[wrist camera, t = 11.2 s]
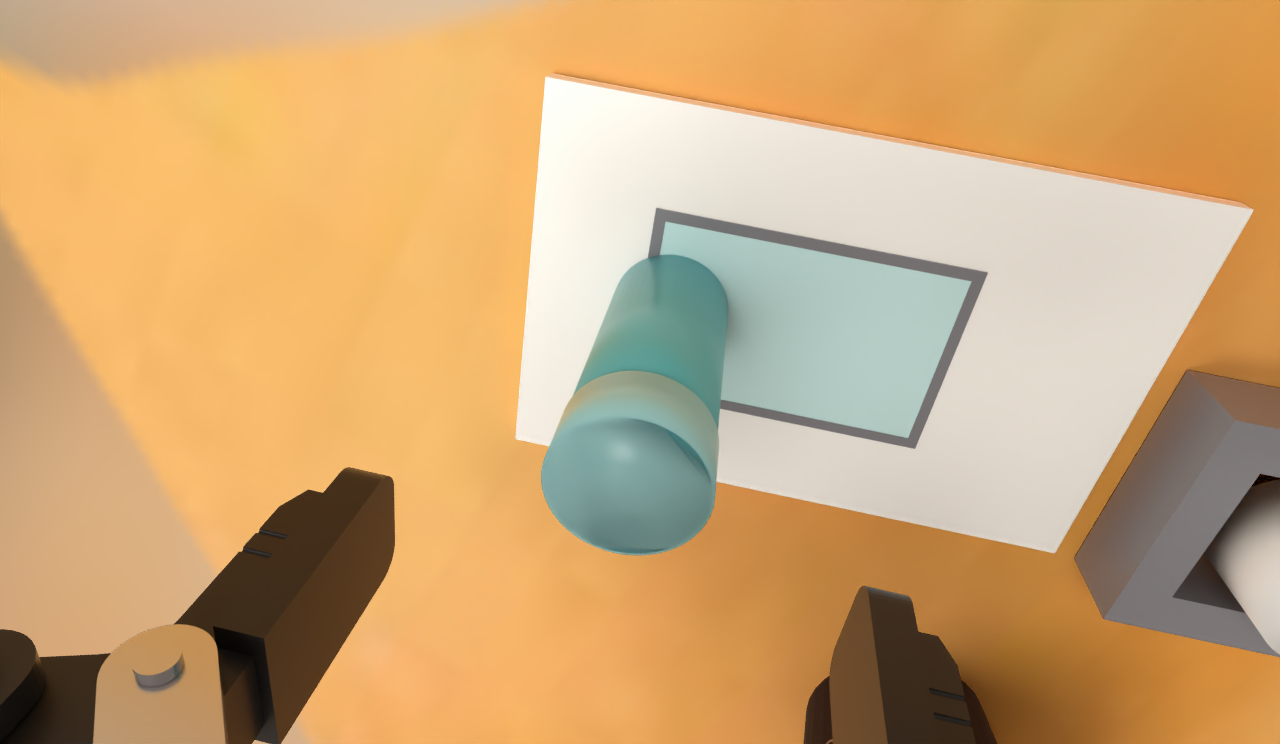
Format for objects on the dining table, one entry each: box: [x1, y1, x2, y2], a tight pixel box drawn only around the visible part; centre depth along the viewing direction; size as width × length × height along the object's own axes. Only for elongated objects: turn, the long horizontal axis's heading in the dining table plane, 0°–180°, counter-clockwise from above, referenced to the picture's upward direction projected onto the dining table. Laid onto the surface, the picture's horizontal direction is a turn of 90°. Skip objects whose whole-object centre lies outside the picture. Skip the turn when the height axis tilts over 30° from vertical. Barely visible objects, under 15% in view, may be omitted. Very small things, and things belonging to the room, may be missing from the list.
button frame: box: [1074, 370, 1280, 657], centre depth 21 cm, size 7×7×2 cm
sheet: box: [515, 73, 1254, 553], centre depth 21 cm, size 17×11×1 cm, turn 82°
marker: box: [541, 255, 728, 555], centre depth 18 cm, size 3×3×8 cm
